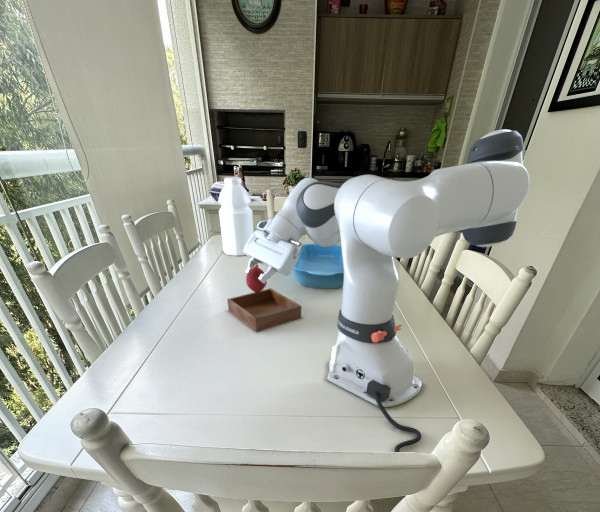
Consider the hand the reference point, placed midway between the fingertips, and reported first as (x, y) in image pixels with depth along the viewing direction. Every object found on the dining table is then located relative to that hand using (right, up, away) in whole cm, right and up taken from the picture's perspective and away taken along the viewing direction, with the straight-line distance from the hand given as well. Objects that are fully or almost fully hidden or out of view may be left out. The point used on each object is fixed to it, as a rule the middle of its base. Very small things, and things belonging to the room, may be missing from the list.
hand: (254, 277), depth 98 cm
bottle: (-14, +32, +58) cm, 68 cm away
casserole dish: (+22, +14, +37) cm, 45 cm away
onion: (0, -3, +3) cm, 5 cm away
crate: (+2, -8, +9) cm, 12 cm away
